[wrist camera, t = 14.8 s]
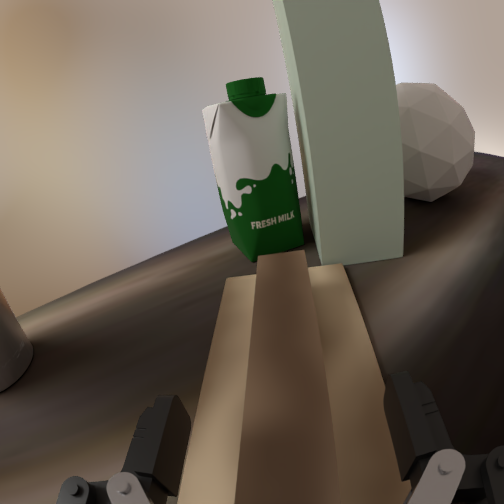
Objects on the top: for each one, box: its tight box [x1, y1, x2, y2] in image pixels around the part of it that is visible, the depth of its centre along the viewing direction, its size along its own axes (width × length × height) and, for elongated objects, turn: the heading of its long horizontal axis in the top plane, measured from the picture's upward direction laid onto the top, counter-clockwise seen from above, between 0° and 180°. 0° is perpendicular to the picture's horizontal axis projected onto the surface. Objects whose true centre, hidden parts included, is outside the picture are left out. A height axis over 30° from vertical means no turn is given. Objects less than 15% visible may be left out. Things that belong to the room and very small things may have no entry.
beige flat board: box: [177, 263, 411, 504], centre depth 21 cm, size 12×25×1 cm, turn 177°
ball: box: [396, 83, 475, 202], centre depth 43 cm, size 19×20×20 cm
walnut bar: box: [234, 250, 341, 504], centre depth 19 cm, size 4×21×4 cm, turn 177°
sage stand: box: [272, 0, 404, 266], centre depth 31 cm, size 9×13×32 cm
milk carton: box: [202, 77, 304, 262], centre depth 36 cm, size 9×9×20 cm
